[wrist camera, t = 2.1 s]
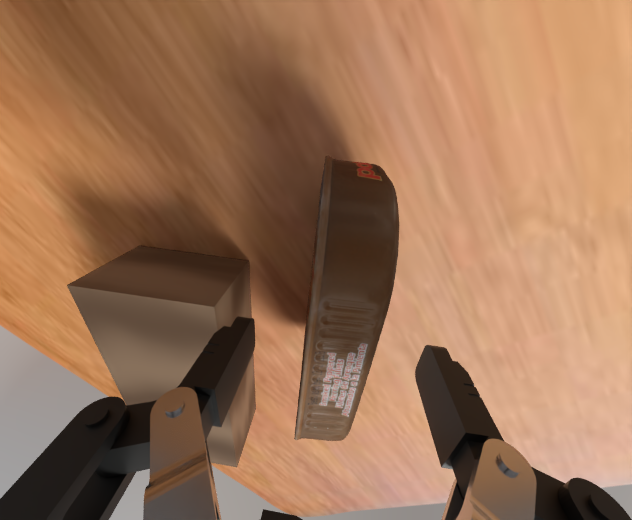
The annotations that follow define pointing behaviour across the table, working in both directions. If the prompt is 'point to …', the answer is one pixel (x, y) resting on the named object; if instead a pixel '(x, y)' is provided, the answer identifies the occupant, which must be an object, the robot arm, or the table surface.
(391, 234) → the tin
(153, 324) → the brown rectangular block
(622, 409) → the table surface
